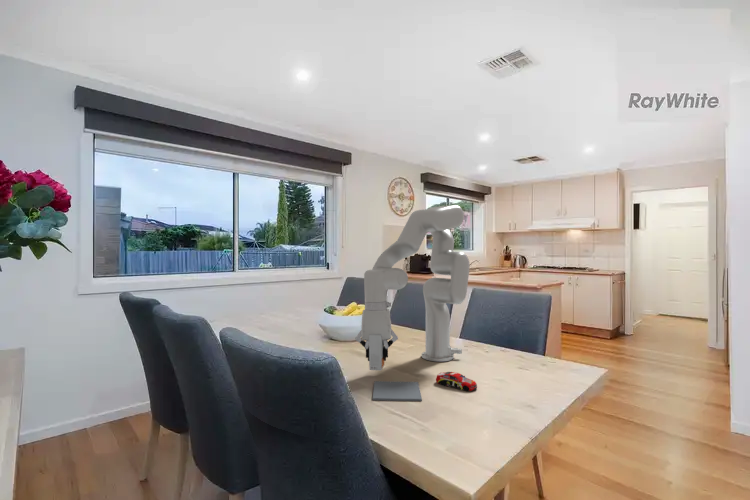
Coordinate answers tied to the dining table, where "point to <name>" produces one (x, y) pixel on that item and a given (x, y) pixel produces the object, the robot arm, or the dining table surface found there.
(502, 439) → the dining table surface
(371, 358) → the skincare box
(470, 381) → the race car
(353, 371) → the dining table surface
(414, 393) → the mat
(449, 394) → the dining table surface
